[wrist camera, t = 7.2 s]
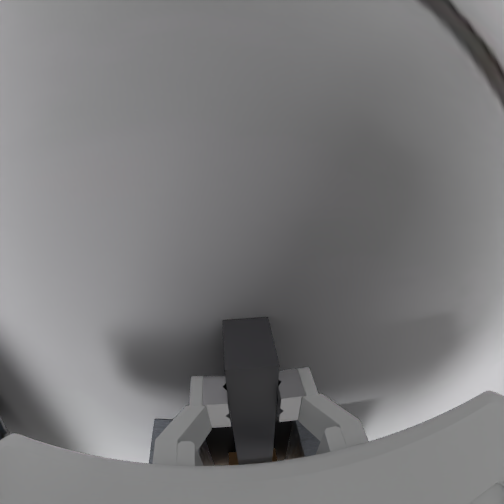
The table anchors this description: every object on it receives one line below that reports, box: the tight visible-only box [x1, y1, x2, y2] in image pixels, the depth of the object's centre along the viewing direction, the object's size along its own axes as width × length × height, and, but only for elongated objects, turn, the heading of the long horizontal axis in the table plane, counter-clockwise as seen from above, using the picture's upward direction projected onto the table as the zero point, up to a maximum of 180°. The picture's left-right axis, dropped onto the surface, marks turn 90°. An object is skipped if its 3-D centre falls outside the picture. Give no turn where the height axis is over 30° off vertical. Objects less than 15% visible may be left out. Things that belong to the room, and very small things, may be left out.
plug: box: [223, 317, 279, 465], centre depth 15 cm, size 18×4×3 cm, turn 1°
